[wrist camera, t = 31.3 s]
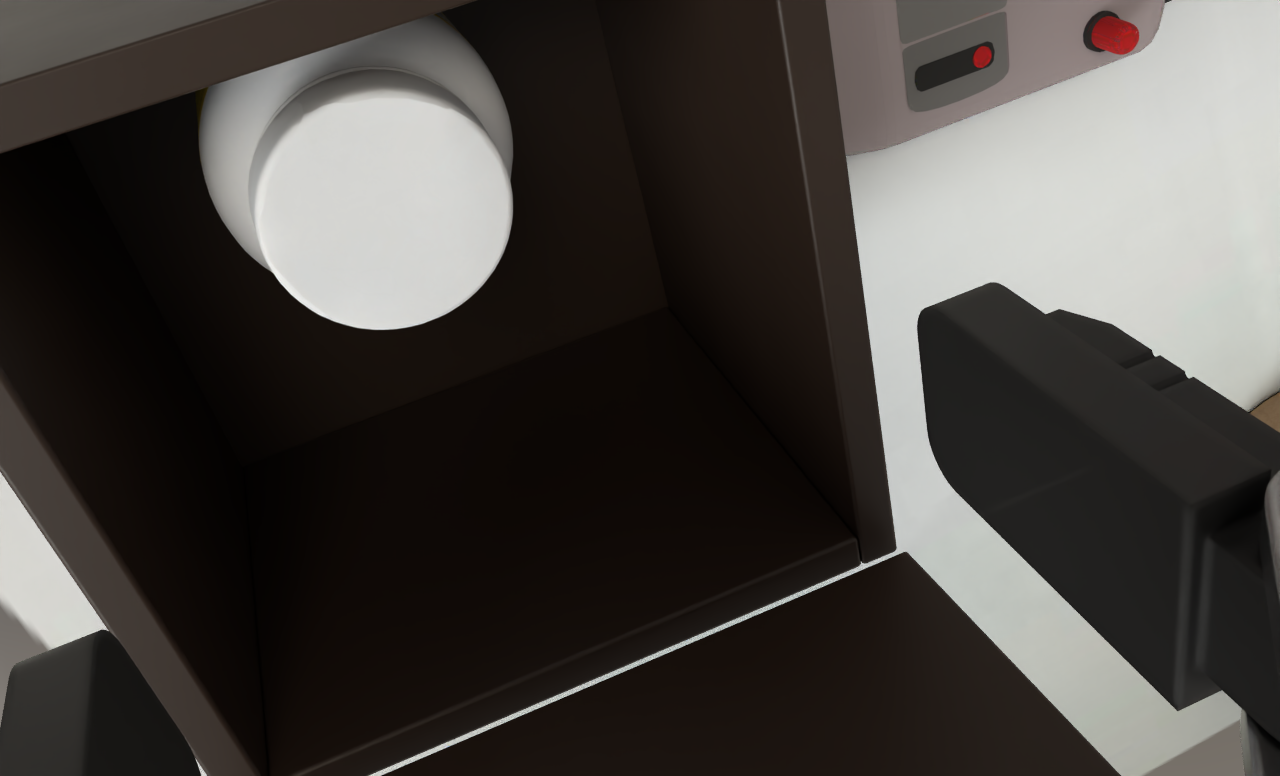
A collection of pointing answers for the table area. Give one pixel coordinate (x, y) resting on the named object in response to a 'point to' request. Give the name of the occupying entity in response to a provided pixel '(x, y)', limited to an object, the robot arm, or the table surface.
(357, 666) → the chest
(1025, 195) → the table surface
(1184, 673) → the robot arm
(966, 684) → the lid
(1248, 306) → the table surface
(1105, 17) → the handheld electronic device
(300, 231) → the supplement bottle
